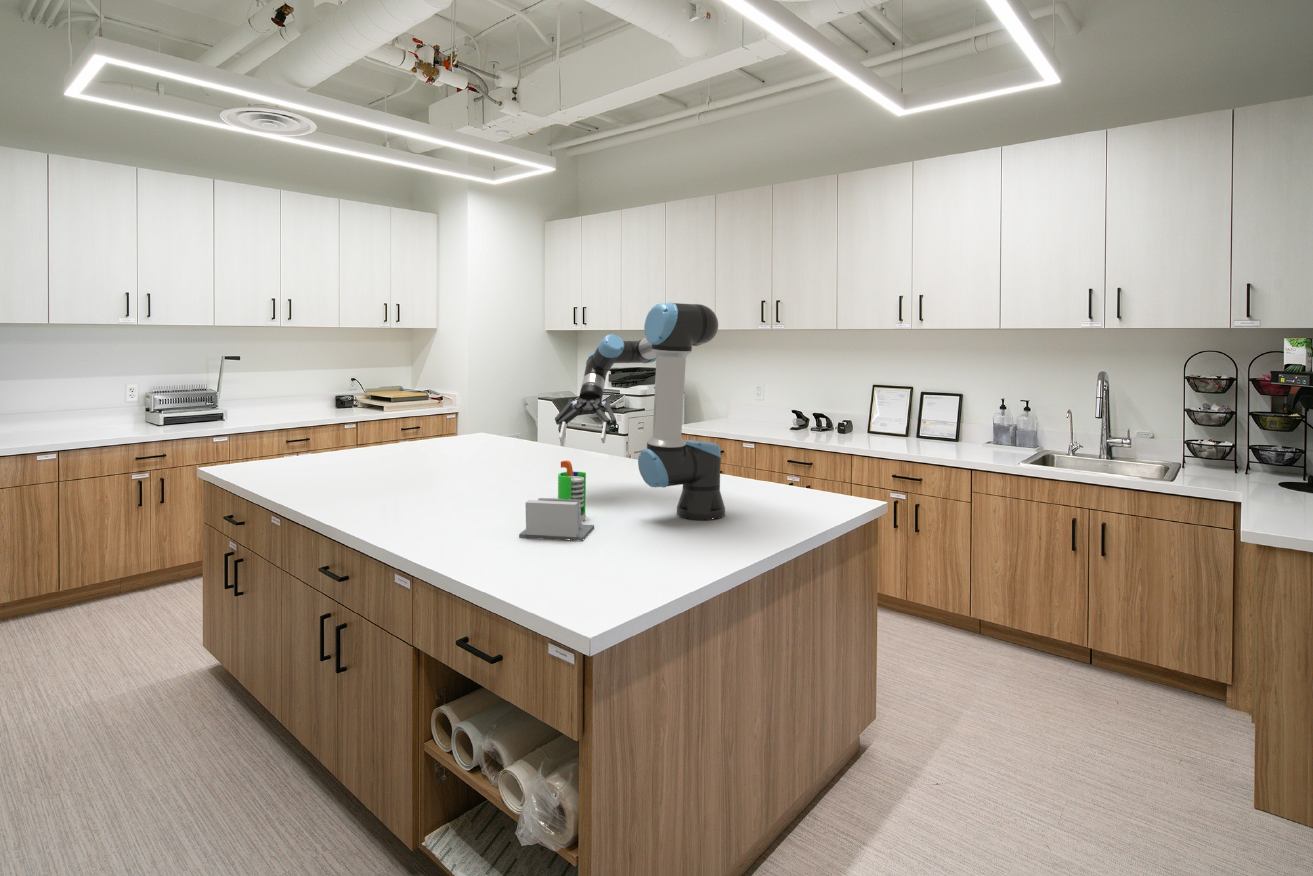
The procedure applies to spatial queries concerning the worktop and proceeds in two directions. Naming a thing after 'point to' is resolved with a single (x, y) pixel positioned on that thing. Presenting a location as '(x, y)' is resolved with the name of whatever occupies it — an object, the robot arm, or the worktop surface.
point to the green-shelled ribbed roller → (572, 486)
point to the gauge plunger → (566, 501)
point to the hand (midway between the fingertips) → (581, 440)
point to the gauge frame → (553, 521)
